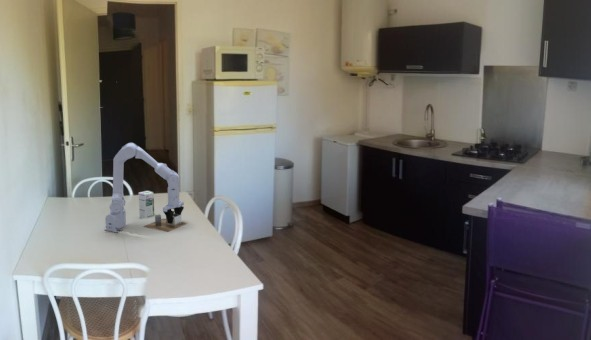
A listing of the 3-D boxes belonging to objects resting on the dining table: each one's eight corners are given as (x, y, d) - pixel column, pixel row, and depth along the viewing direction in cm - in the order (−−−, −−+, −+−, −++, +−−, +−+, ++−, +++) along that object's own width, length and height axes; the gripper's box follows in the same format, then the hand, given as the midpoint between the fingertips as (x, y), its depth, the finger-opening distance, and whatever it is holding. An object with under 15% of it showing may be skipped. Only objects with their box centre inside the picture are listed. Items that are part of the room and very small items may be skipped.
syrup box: (145, 220, 259) (145, 194, 256) (139, 217, 263) (138, 192, 260) (154, 217, 264) (154, 192, 261) (147, 215, 267) (147, 190, 264)
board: (168, 234, 238) (167, 231, 238) (142, 229, 244) (142, 226, 244) (187, 226, 253) (187, 223, 252) (163, 221, 259) (163, 218, 259)
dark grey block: (161, 225, 247) (161, 216, 246) (155, 226, 246) (155, 216, 245) (160, 223, 249) (160, 214, 248) (155, 224, 248) (154, 215, 247)
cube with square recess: (174, 226, 246) (174, 217, 245) (166, 224, 248) (165, 215, 247) (181, 223, 251) (181, 214, 250) (172, 222, 253) (172, 212, 252)
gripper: (170, 200, 239) (171, 226, 241) (188, 194, 252) (188, 219, 254) (159, 198, 241) (159, 224, 244) (177, 192, 254) (177, 217, 257)
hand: (173, 221), depth 249 cm, fingers closed on cube with square recess, 5 cm apart
